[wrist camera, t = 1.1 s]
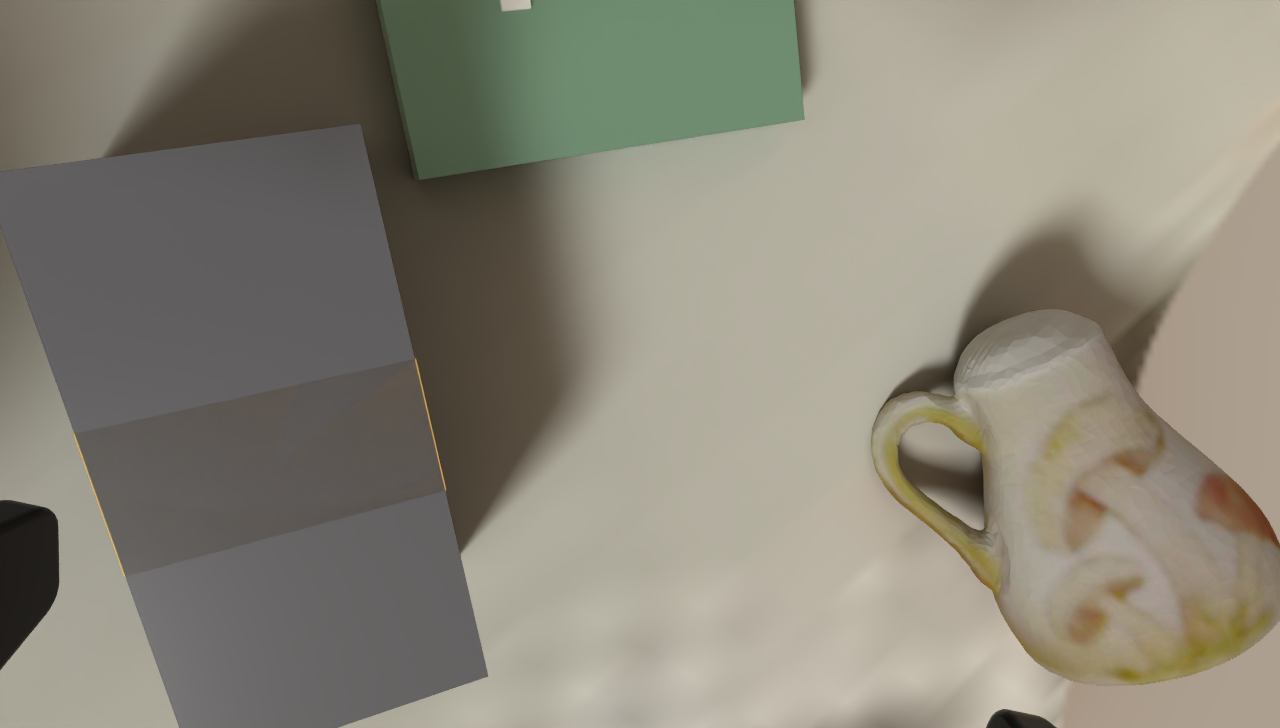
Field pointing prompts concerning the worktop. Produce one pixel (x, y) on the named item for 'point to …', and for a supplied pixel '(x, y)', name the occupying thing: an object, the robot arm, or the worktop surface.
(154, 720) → the worktop surface
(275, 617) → the block
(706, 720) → the worktop surface
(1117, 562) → the grey lumpy rounded lump
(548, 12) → the board
